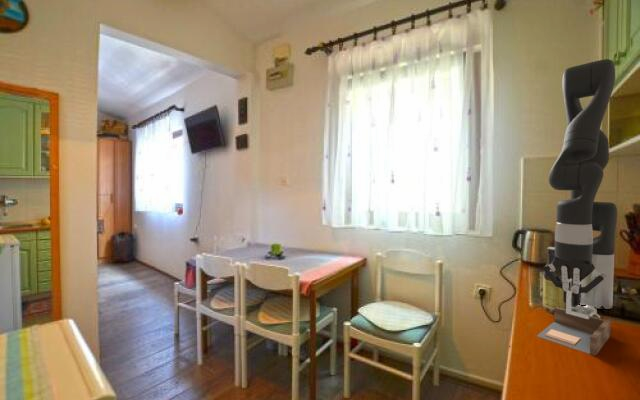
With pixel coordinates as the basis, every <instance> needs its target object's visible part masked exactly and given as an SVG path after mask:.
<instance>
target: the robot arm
mask: <svg viewBox="0 0 640 400" xmlns="http://www.w3.org/2000/svg"><path fill="white" fill-rule="evenodd" d="M561 81H562V82H561V83H562V87H561V88H562V94H563V95H562V96H563V101H564V109H565V117H566V123H567V124H566V126H567V128H566V129H565V132H564V138H563V143H562V149H561V151H560V153H559V155H558V157H557V159H556V160H555V162H554V164H553V165H552V167H551V169H550V171H549V173H548V184H549V185H550V186H551V188H552V189H553V190H556V191H570V198H569V199H563V200H559V201H558V203H557V205H556V223H555V224H556V225H555V229H554V230H555V231H554V247H555V258H554V260H553V261H552V264H549V265H544V266H543V267H542V270H543V271H545V273H546V274H547V276H548V277H549V278H550V280H551V281H552V282H553V284H554V285H555V286H556V287H559V288H561V289H563V301H564V302H565V303H566V295H567V290H568V289H570V288H571V287H572V286H573V292H574V294H573V307H576V306H578V305H579V304H580V306H581V305H590V306H593V307H596V308H600V307H601V306H603V307H604V308H605V309H610V308H612V309H613V301H614V300H613V298H614V276H615V275H614V272H615V266H614V265H615V248H616V247H615V242H616V230H617V222H618V208H617V205H616V204H615V203H613V202H611V201H610V202H609V201H595V198H596V196H597V193H598V190H599V189H600V187H601V184H602V182H603V179H604V169H605V168H606V167H607V165H608V164H609V160H610V153H609V152H610V151H609V149H610V148H609V147H610V146H609V144H610V143H609V138H608V137H607V135H606V134H605V132H604V131H603V130H602V129H601V126H602V123H603V120H604V119H603V118H604V116H605V113H606V111H607V108H608V106H609V103H610V99H611V96H612V94H613V90H614V86H615V81H616V67H615V64H614V61H613V60H612V59H610V58H605V59H600V60H595V61H591V62H586V63H583V64H580V65H579V64H578V65H574V66H571V67H568V68H566V69H565V70H564V71H563V74H562V79H561ZM588 97H592V99H591V100H590V101H589V102H588V104H587V105H586V106H585V107H584V108H583V107H582V106H583V105H581V102H580V99H581V98H582V99H583V98H588ZM594 231H595V232H600V234H599V235H598V236H596V237H594ZM555 268H556V270H557V271H558V272H559V274H560V275H561V276H562V281H561V279H560V278H559V277H558V275H557V274H556V273H555Z"/></svg>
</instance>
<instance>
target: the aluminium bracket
mask: <svg viewBox="0 0 640 400" xmlns="http://www.w3.org/2000/svg"><path fill="white" fill-rule="evenodd" d="M573 294H574V292H573V285H571V288H570V289H568V290H567V295H566V313H567V314H571V315H574V316H578V317H582V318H585V319H589V318H590V317H591V316H592V315H593V314H594V309H590V308H586V307H584V306H581V305H580V306H576V307H573Z"/></svg>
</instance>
